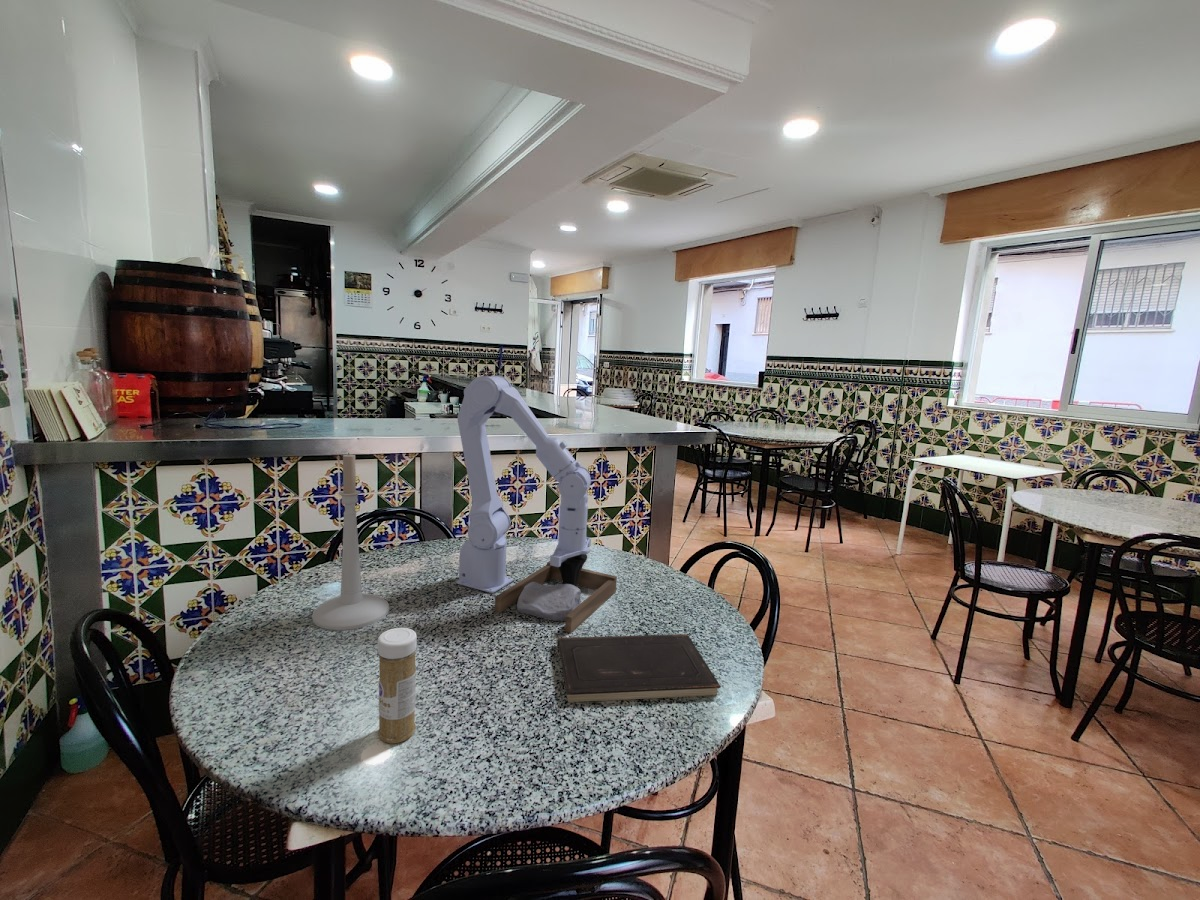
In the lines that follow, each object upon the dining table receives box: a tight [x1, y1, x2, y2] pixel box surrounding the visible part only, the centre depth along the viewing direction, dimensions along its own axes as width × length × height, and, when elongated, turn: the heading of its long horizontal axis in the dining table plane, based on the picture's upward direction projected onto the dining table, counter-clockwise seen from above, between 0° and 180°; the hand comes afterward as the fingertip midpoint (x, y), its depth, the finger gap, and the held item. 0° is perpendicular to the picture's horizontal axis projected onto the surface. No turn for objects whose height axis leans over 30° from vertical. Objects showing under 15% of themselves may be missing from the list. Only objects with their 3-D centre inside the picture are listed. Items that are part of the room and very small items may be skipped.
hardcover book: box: [556, 633, 722, 703], centre depth 87 cm, size 16×23×2 cm
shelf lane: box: [494, 560, 618, 634], centre depth 109 cm, size 16×21×4 cm
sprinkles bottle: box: [377, 627, 418, 744], centre depth 68 cm, size 5×5×14 cm
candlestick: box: [311, 452, 390, 631], centre depth 97 cm, size 13×13×30 cm
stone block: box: [516, 582, 582, 622], centre depth 106 cm, size 12×5×10 cm
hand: (569, 588), depth 114 cm, fingers closed
